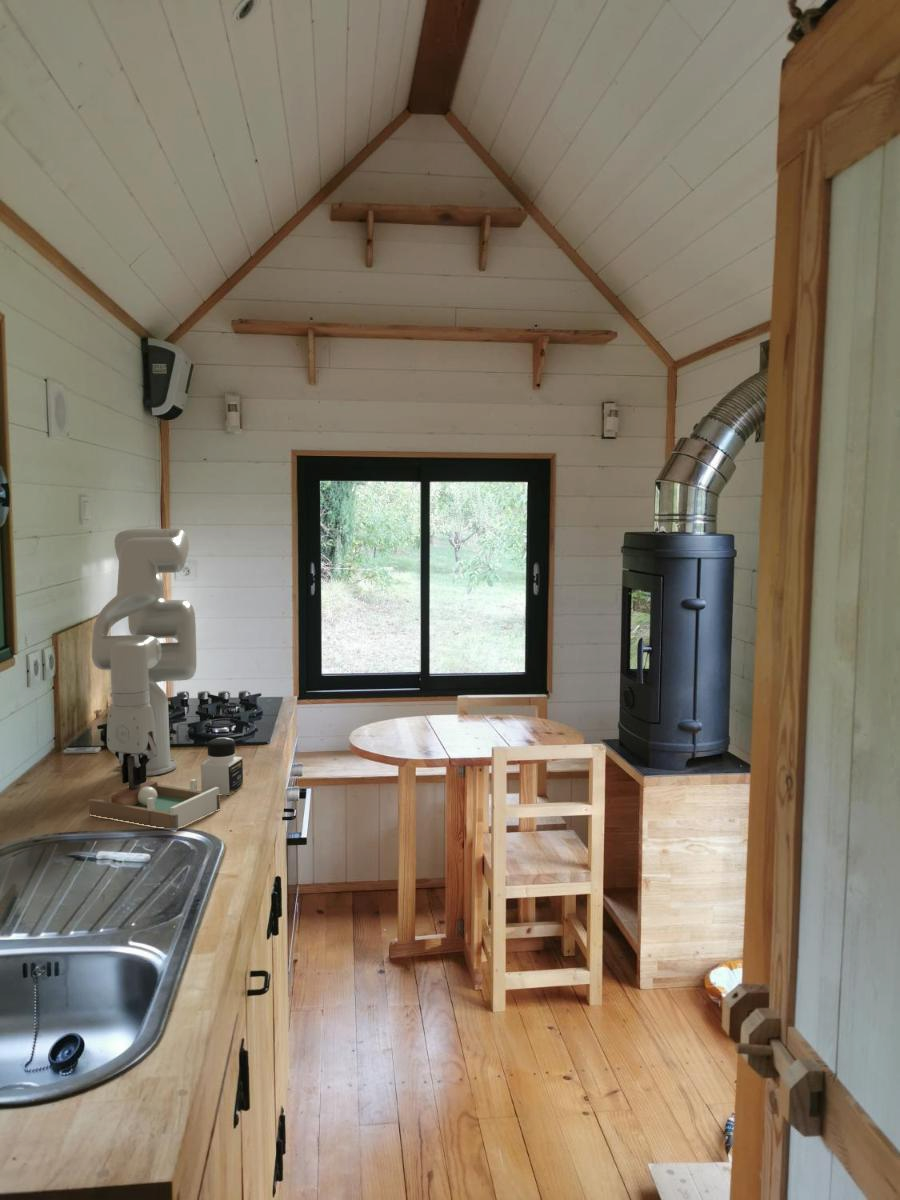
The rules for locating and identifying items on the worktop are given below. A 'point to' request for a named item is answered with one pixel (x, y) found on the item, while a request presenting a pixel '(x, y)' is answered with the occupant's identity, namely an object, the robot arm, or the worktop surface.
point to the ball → (146, 795)
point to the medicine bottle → (222, 767)
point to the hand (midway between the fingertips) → (134, 781)
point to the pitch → (163, 807)
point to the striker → (131, 787)
